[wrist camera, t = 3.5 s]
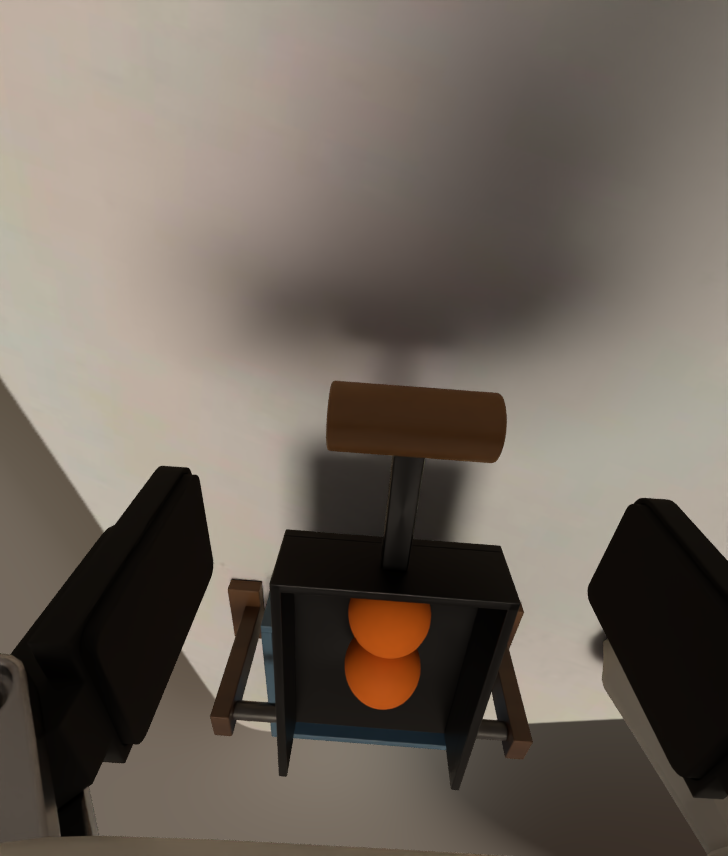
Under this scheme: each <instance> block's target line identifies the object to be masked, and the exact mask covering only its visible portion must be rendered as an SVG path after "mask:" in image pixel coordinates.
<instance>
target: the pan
mask: <svg viewBox="0 0 728 856" xmlns="http://www.w3.org/2000/svg"><path fill="white" fill-rule="evenodd" d="M506 427H507V414H506V406H505V402H504V399H503V397H502V396H501V395H500V394H499V393H493V392H479V391H466V390H453V389H439V388H426V387H413V386H400V385H386V384H373V383H360V382H346V381H333V382H332V384H331V387H330V393H329V400H328V410H327V424H326V445H327V449H328V450H329V451H337V452H350V453H364V454H377V455H390V456H392V463H391V472H390V481H389V490H388V499H387V508H386V517H385V526H384V535H383V537H379V536H366V535H353V534H340V533H327V532H314V531H301V530H288V529H287V530H286V531H285V534H284V538H283V541H282V544H281V548H280V551H279V554H278V558H277V561H276V564H275V568H274V571H273V574H272V577H271V581H270V604H271V624H272V645H273V665H274V685H275V706H276V726H277V746H278V765H279V766H278V767H279V776H285V777H286V776H287V773H288V767H289V761H290V755H291V749H292V743H293V737H294V731H295V725H296V722H304V723H316V724H329V725H342V726H355V727H368V728H380V729H393V730H406V731H419V732H432V733H444V735H445V743H446V752H447V760H448V769H449V777H450V785H451V789H452V790H459V788H460V784H461V782H462V779H463V776H464V773H465V769H466V767H467V763H468V761H469V757H470V755H471V751H472V749H473V745H474V743H475V740H476V737H477V734H478V731H479V728H480V725H481V722H482V719H483V716H484V713H485V710H486V707H487V704H488V701H489V698H490V695H491V692H492V689H493V686H494V683H495V680H496V677H497V674H498V671H499V668H500V664H501V661H502V658H503V655H504V652H505V649H506V646H507V643H508V640H509V637H510V634H511V631H512V628H513V625H514V622H515V619H516V616H517V613H518V610H519V607H520V604H521V603H520V600H519V597H518V594H517V591H516V589H515V586H514V583H513V580H512V577H511V574H510V571H509V569H508V566H507V563H506V560H505V557H504V554H503V552H502V549H501V546H497V545H484V544H471V543H458V542H445V541H432V540H418V539H413V533H414V526H415V520H416V513H417V507H418V500H419V494H420V487H421V480H422V474H423V467H424V461H425V458H429V459H443V460H456V461H469V462H482V463H494V462H496V461H497V460H498V458H499V457H500V454H501V452H502V449H503V446H504V442H505V436H506ZM350 598H357V599H370V600H383V601H396V602H409V603H422V604H430V607H431V622H430V627H429V630H428V633H427V635H426V637H425V639H424V640H423V642H422V643H421V644H420V646H419V647H418V648H417V650H418V653H419V657H420V664H421V670H420V677H419V681H418V684H417V687H416V689H415V691H414V692H413V694H412V695H411V696H410V697H409V699H408V700H406V701H405V702H404V703H403V704H401V705H399V706H397V707H395V708H392V709H386V710H380V709H375V708H372V707H369V706H367V705H365V704H364V703H362V702H361V701H360V700H359V699H358V698H357V697H356V696H355V695H354V693H353V692H352V690H351V689H350V687H349V685H348V682H347V679H346V675H345V655H346V652H347V649H348V646H349V644H350V642H351V640H352V639H353V637H354V635H353V633H352V630H351V627H350V623H349V618H348V607H349V602H350Z"/></svg>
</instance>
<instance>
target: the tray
mask: <svg viewBox="0 0 728 856" xmlns="http://www.w3.org/2000/svg"><path fill="white" fill-rule="evenodd" d="M261 636H262V646H263V656H264V665H265V675H266V685H267V694H268V702H269V703H275V685H274V665H273V645H272V624H271V604H270V593H269V597H268V600H267V604H266V608H265V611H264V615H263V619H262V622H261ZM271 732H272V736H274V737H277V726H276V723H271ZM293 738H300V739H313V740H325V741H338V742H350V743H351V742H352V743H364V744H377V745H389V746H403V747H414V748H415V747H416V748H428V749H440V750H446V743H445V735H444V733H432V732H419V731H406V730H393V729H380V728H368V727H355V726H342V725H329V724H316V723H304V722H296V725H295V731H294V737H293Z"/></svg>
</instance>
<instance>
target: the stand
mask: <svg viewBox="0 0 728 856" xmlns="http://www.w3.org/2000/svg"><path fill="white" fill-rule="evenodd" d="M228 594H229V601H230V607H231V613H232V620H233V626H234V633H235V636H236V637H235V640H234V643H233V646H232V649H231V652H230V656H229V659H228V662H227V665H226V668H225V671H224V674H223V677H222V681H221V684H220V687H219V690H218V693H217V696H216V699H215V702H214V706H213V709H212V712H211V715H210V719H211V723H212V727H213V731H214V734H215V735H224V736H232V734H233V731H234V727H235V724H236V720H244V721H257V722H270V723H276V706H275V703H269V702H256V701H244V700H242V698H243V694H244V690H245V687H246V683H247V679H248V676H249V672H250V668H251V664H252V661H253V657H254V653H255V650H256V646H257V642H258V638H261V639H262V636H261V622H262V619H263V615H264V602H263V591H262V582H256V581H243V580H231V582H230V585H229V587H228ZM520 603H521V602H520ZM523 613H524V611H523V608H522V604H520V607H519V610H518V613H517V616H516V619H515V622H514V625H513V628H512V631H511V634H510V637H509V640H508V643H507V646H506V649H505V652H504V655H503V658H502V661H501V664H500V668H499V671H498V674H497V677H496V680H495V683H494V686H493V689H492V695H493V700H494V705H495V710H496V715H497V720H487V719H482V722H481V725H480V728H479V731H478V734H477V737H476V739H487V740H488V739H489V740H501V741H502V744H503V749H504V754H505V757H506V758H512V759H524V757H525V755H526V753H527V752H528V750H529V748H530V746H531V745H532V743H533V741H532V737H531V733H530V729H529V726H528V722H527V718H526V714H525V710H524V706H523V702H522V698H521V694H520V690H519V687H518V683H517V679H516V675H515V671H514V667H513V663H512V659H511V656H510V652H509V648H510V645H511V643H512V640H513V638H514V636H515V633H516V631H517V628H518V626H519V623H520V621H521V618H522V616H523Z"/></svg>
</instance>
